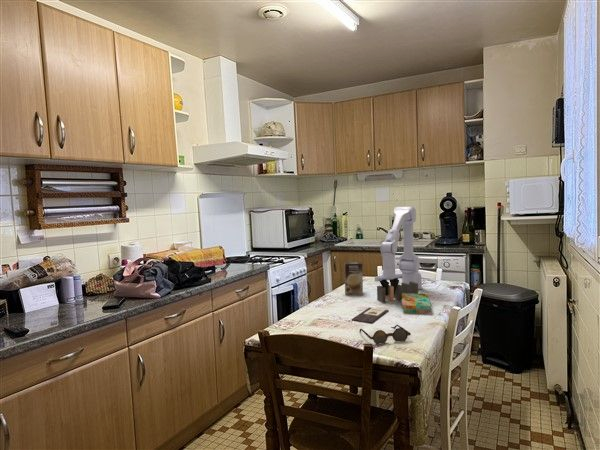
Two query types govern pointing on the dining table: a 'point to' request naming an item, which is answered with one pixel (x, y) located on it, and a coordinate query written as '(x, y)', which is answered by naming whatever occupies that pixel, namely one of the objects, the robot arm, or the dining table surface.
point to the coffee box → (353, 278)
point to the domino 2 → (390, 293)
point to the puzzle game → (415, 303)
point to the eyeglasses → (397, 335)
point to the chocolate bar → (370, 315)
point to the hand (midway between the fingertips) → (389, 294)
